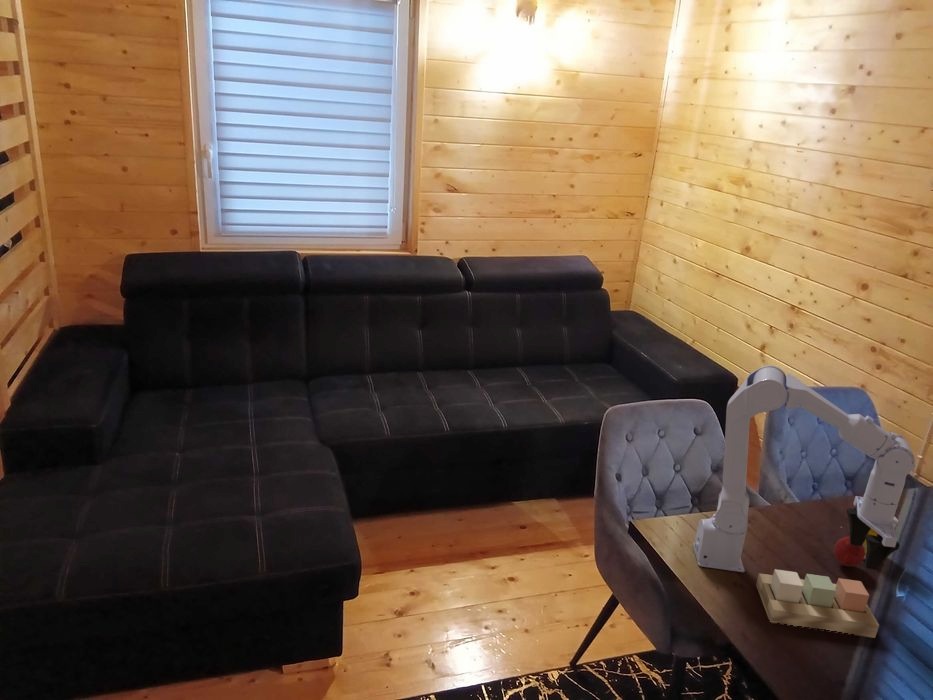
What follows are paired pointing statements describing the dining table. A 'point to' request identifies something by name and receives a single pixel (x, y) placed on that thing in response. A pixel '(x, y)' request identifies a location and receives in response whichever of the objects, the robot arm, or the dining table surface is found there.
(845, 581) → the salmon pink cube
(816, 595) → the sage key
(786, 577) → the cream key
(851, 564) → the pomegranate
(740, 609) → the dining table surface
